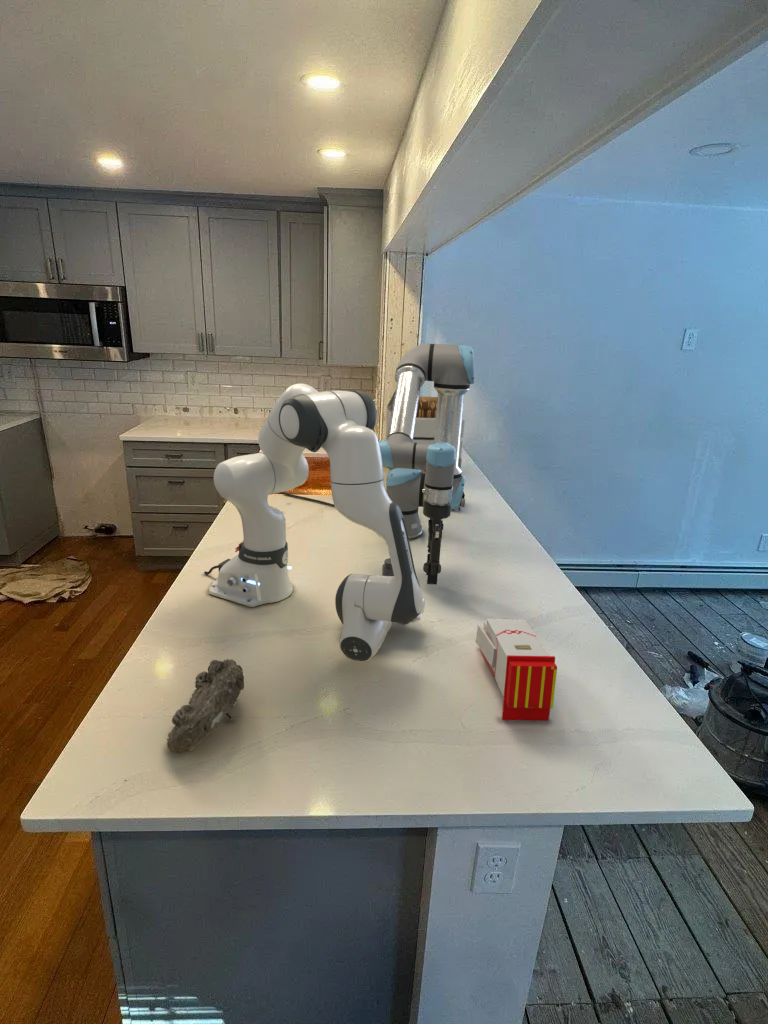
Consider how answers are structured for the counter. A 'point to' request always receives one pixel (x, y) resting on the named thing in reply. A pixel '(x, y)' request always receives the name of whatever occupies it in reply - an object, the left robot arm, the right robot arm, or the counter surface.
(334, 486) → the left robot arm
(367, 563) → the counter surface
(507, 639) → the toy
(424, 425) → the grey slatted wooden crate
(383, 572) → the jar
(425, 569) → the lid
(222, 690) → the fossil
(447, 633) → the counter surface
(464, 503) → the figurine character
